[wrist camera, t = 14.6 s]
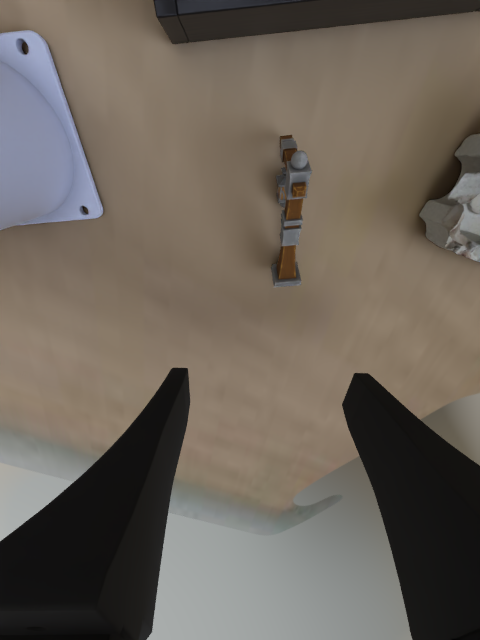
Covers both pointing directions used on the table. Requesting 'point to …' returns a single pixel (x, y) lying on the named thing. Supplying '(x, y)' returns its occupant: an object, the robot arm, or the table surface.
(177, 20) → the frame
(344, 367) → the table surface
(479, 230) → the egg carton
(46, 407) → the table surface
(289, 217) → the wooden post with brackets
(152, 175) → the table surface
